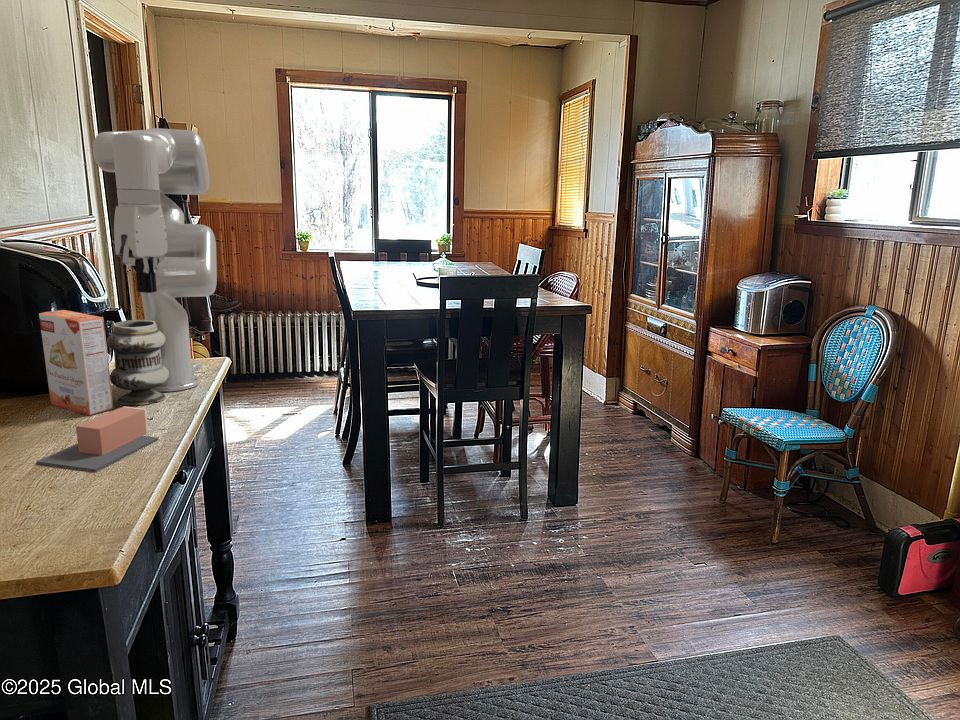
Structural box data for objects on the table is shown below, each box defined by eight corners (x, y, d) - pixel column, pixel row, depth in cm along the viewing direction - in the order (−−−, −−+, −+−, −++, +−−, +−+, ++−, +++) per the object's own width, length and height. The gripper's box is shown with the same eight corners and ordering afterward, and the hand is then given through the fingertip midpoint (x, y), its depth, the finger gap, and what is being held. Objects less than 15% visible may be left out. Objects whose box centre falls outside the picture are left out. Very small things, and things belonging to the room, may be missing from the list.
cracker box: (48, 405, 146) (36, 312, 141) (75, 398, 151) (65, 308, 146) (87, 417, 140) (76, 320, 134) (114, 409, 145) (105, 315, 140)
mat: (105, 433, 131) (105, 431, 130) (158, 440, 128) (158, 437, 128) (36, 464, 115) (36, 461, 115) (95, 472, 113) (95, 469, 113)
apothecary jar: (134, 410, 144) (126, 330, 140) (100, 401, 150) (92, 323, 146) (182, 397, 155) (175, 322, 150) (149, 389, 160) (142, 316, 156)
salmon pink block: (123, 406, 130) (75, 426, 119) (146, 409, 129) (99, 429, 118) (126, 430, 131) (78, 452, 120) (148, 433, 130) (102, 455, 119)
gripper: (148, 198, 137) (156, 286, 142) (93, 198, 123) (103, 295, 127) (180, 200, 136) (187, 288, 140) (128, 199, 122) (137, 298, 126)
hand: (147, 291), depth 134 cm, fingers closed
